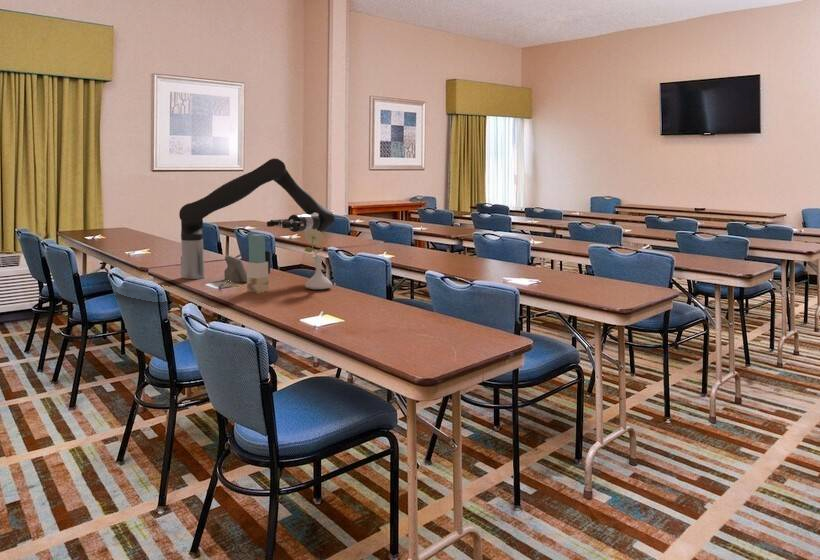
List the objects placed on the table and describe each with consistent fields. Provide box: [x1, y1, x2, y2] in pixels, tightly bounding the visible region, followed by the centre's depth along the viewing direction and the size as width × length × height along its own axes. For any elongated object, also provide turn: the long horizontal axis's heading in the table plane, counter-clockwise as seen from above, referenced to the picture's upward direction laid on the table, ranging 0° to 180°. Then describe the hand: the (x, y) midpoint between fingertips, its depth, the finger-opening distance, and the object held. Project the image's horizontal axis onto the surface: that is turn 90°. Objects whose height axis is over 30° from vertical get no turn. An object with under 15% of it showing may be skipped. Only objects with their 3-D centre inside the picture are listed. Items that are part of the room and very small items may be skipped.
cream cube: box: [246, 261, 269, 279], centre depth 264 cm, size 6×6×6 cm
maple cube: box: [246, 276, 270, 294], centre depth 265 cm, size 6×6×6 cm
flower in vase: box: [303, 229, 333, 290], centre depth 271 cm, size 13×11×25 cm
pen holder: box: [265, 250, 271, 275], centre depth 309 cm, size 9×9×10 cm
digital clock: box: [223, 255, 247, 283], centre depth 289 cm, size 16×9×11 cm, turn 23°
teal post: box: [247, 233, 266, 263], centre depth 263 cm, size 4×4×11 cm
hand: (275, 224), depth 272 cm, fingers open, 8 cm apart
